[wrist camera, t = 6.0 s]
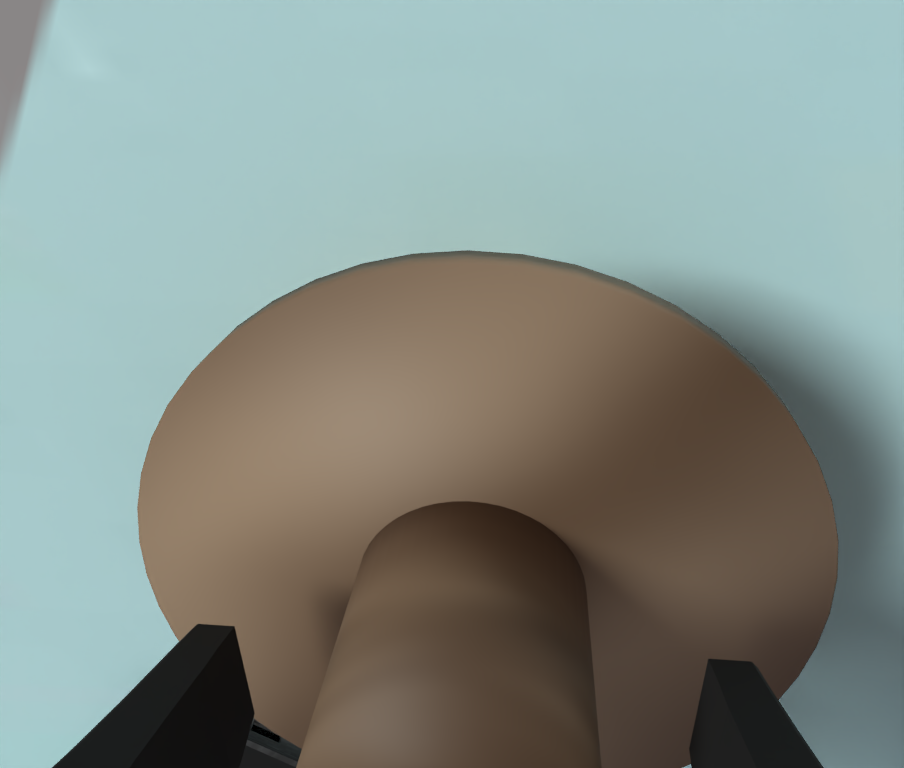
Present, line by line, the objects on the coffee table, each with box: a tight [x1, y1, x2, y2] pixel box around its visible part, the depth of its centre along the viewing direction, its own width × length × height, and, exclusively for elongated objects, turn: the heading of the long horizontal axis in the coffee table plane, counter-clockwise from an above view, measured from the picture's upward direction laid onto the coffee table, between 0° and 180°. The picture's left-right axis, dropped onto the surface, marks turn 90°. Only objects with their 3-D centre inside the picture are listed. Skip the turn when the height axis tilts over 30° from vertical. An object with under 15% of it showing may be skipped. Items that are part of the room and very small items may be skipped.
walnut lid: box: [138, 251, 838, 768], centre depth 11 cm, size 12×12×5 cm
